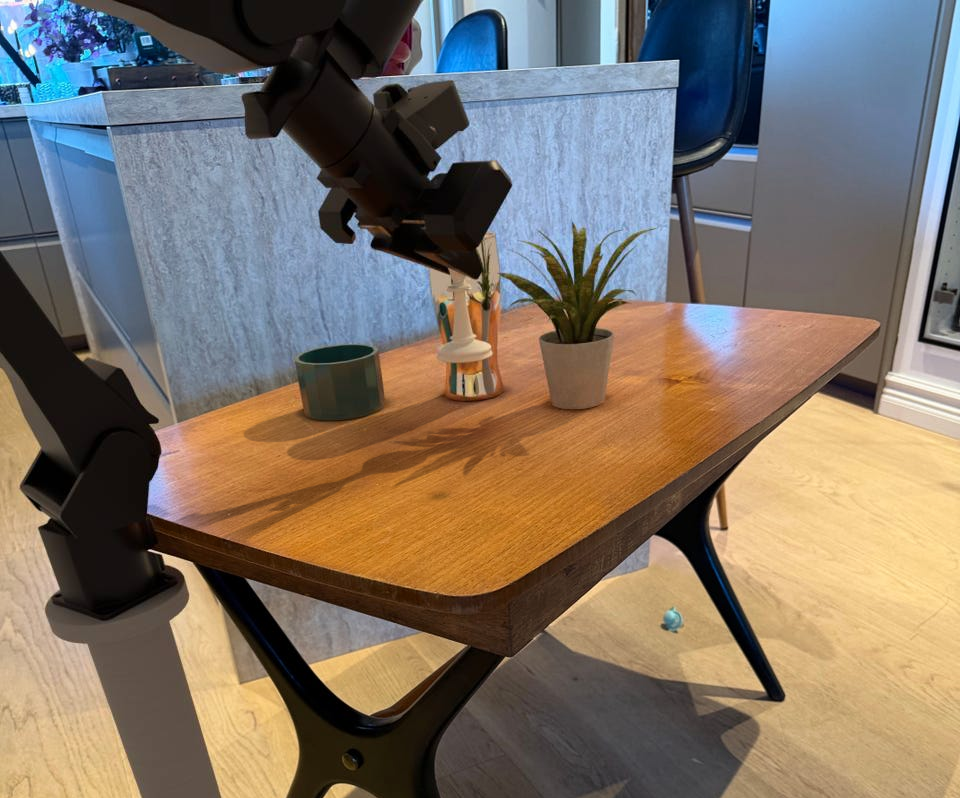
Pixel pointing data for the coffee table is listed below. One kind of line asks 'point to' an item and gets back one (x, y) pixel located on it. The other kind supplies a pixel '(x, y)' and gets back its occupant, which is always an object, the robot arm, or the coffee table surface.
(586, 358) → the house plant
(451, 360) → the chess piece
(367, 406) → the pot
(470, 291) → the beer glass
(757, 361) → the coffee table surface
